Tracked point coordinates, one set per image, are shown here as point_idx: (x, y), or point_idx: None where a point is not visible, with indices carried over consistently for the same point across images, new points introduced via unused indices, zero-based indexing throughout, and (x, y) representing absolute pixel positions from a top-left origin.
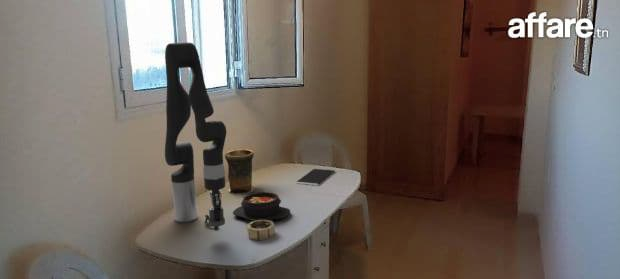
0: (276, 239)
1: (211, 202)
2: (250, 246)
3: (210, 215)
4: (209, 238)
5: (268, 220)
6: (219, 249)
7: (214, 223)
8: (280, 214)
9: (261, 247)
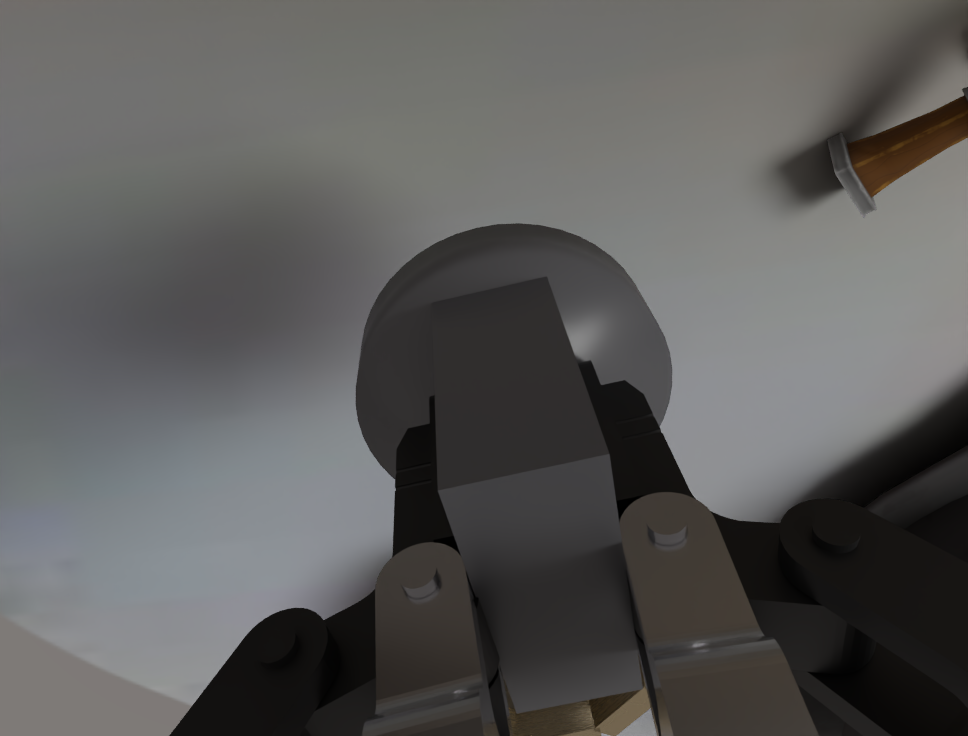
0: None
1: (659, 691)
2: (275, 553)
3: (437, 398)
4: (535, 112)
5: (632, 719)
6: (184, 295)
7: (357, 381)
8: (819, 715)
9: (256, 622)
